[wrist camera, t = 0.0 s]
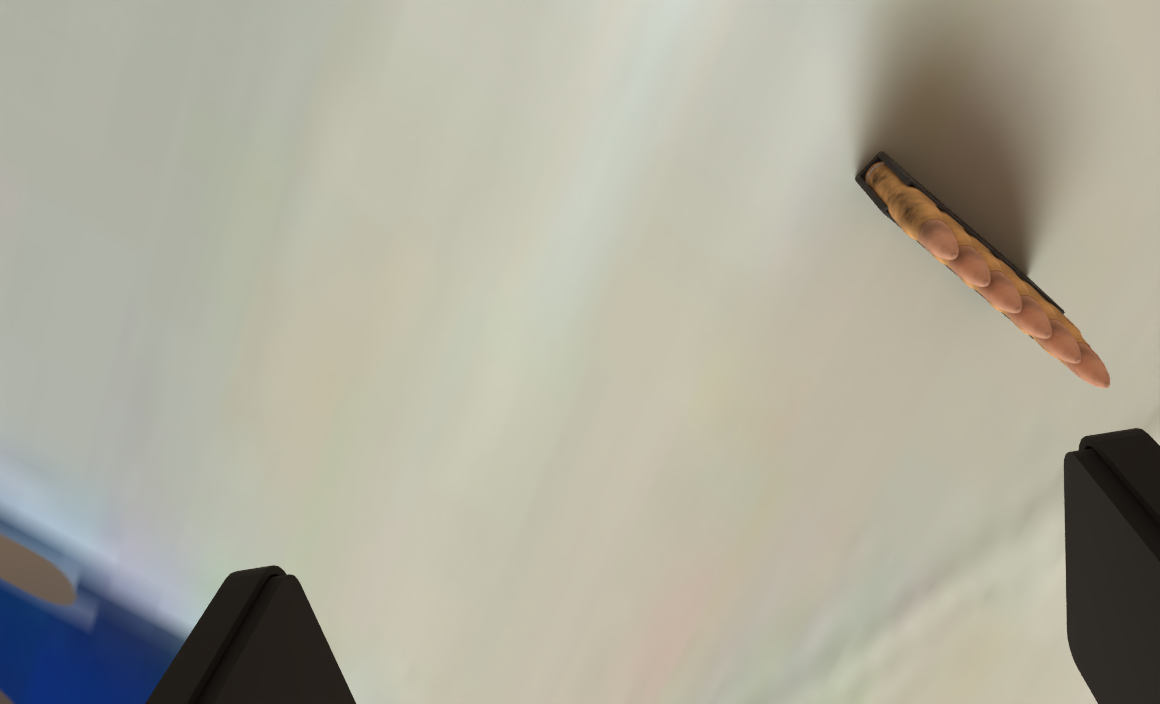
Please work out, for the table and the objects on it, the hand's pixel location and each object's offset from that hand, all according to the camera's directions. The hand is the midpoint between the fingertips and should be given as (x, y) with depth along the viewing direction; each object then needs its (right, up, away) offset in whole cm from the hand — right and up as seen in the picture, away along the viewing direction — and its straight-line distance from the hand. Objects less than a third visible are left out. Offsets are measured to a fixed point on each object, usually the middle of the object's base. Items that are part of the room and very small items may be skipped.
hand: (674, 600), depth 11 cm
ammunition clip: (+17, +9, +35) cm, 40 cm away
